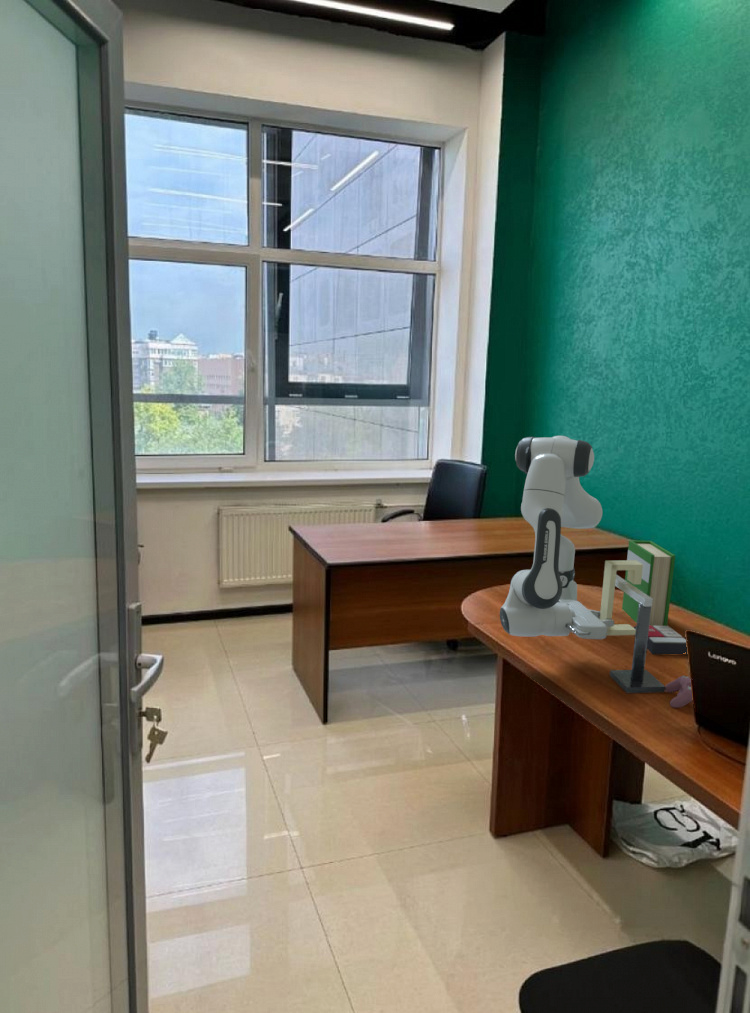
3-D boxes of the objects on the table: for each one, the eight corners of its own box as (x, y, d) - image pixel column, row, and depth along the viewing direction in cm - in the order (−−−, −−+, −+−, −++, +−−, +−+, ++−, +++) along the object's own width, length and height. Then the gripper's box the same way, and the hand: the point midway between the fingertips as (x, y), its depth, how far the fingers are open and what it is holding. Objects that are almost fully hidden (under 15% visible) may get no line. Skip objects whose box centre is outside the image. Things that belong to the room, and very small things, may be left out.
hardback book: (666, 629, 218) (675, 555, 213) (643, 629, 218) (651, 555, 213) (643, 609, 236) (651, 540, 231) (621, 609, 235) (629, 540, 230)
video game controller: (685, 716, 167) (703, 694, 165) (668, 706, 168) (685, 683, 166) (678, 697, 177) (695, 676, 175) (662, 688, 177) (678, 666, 175)
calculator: (669, 624, 214) (691, 641, 199) (667, 638, 214) (690, 655, 199) (633, 623, 213) (653, 640, 199) (632, 637, 214) (652, 655, 199)
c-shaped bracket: (598, 629, 194) (605, 560, 190) (628, 629, 195) (636, 560, 191) (604, 635, 190) (611, 564, 186) (635, 634, 191) (643, 564, 187)
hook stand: (585, 650, 200) (592, 572, 195) (618, 650, 201) (626, 571, 196) (626, 693, 175) (636, 603, 170) (664, 692, 176) (675, 603, 171)
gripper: (575, 622, 179) (627, 622, 181) (547, 596, 199) (594, 595, 200) (573, 645, 180) (624, 644, 182) (546, 616, 200) (592, 616, 202)
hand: (608, 618), depth 191 cm, fingers closed on c-shaped bracket, 4 cm apart
